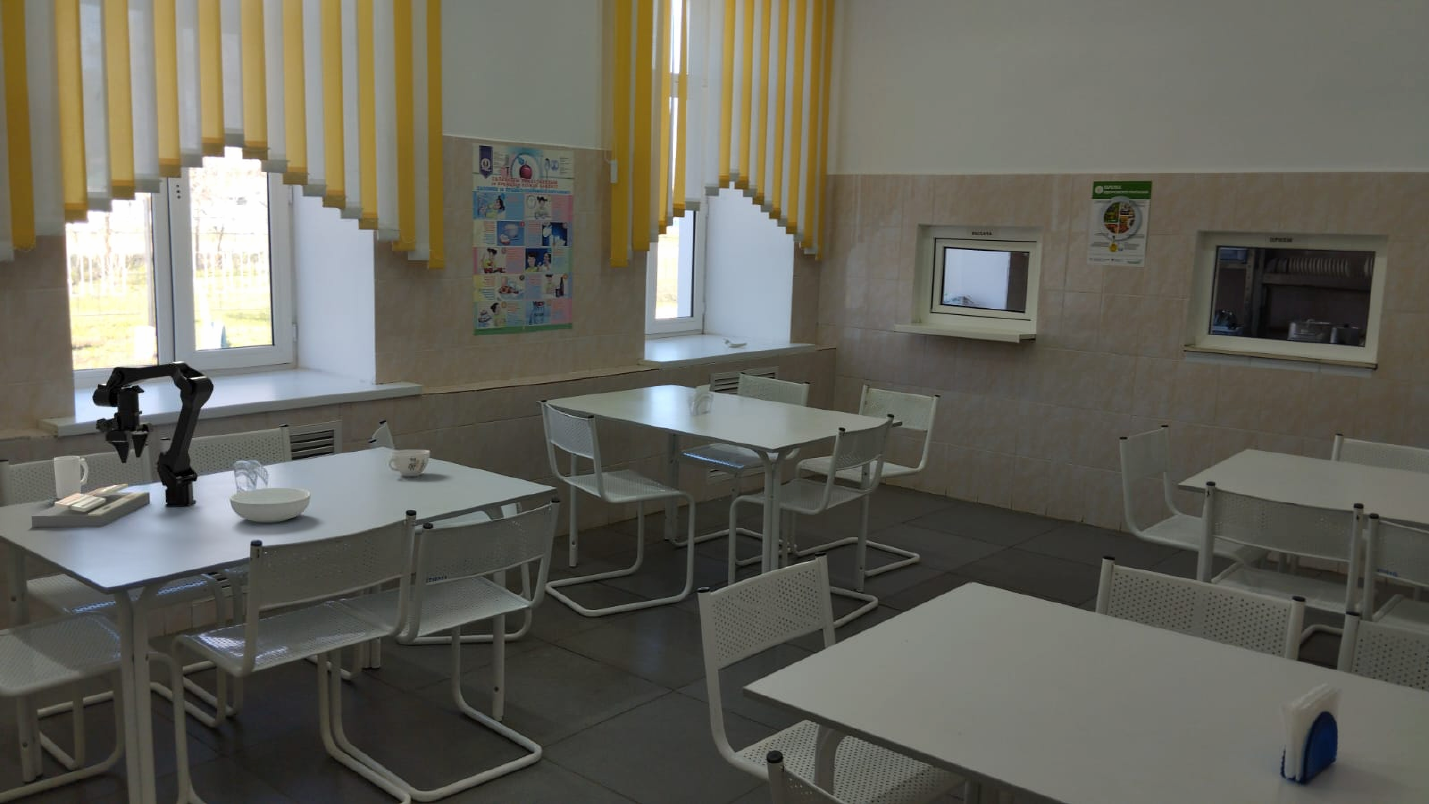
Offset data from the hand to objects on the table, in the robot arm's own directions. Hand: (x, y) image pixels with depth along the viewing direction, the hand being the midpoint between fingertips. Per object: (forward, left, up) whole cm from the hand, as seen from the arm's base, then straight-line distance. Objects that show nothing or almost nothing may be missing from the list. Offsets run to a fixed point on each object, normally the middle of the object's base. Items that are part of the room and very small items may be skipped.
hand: (131, 460), depth 332 cm
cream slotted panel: (+3, +11, -7) cm, 13 cm away
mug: (+20, -6, -12) cm, 24 cm away
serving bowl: (-48, +25, -12) cm, 55 cm away
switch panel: (+3, +18, -12) cm, 22 cm away
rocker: (+3, +25, -7) cm, 26 cm away
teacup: (-73, -37, -12) cm, 83 cm away
